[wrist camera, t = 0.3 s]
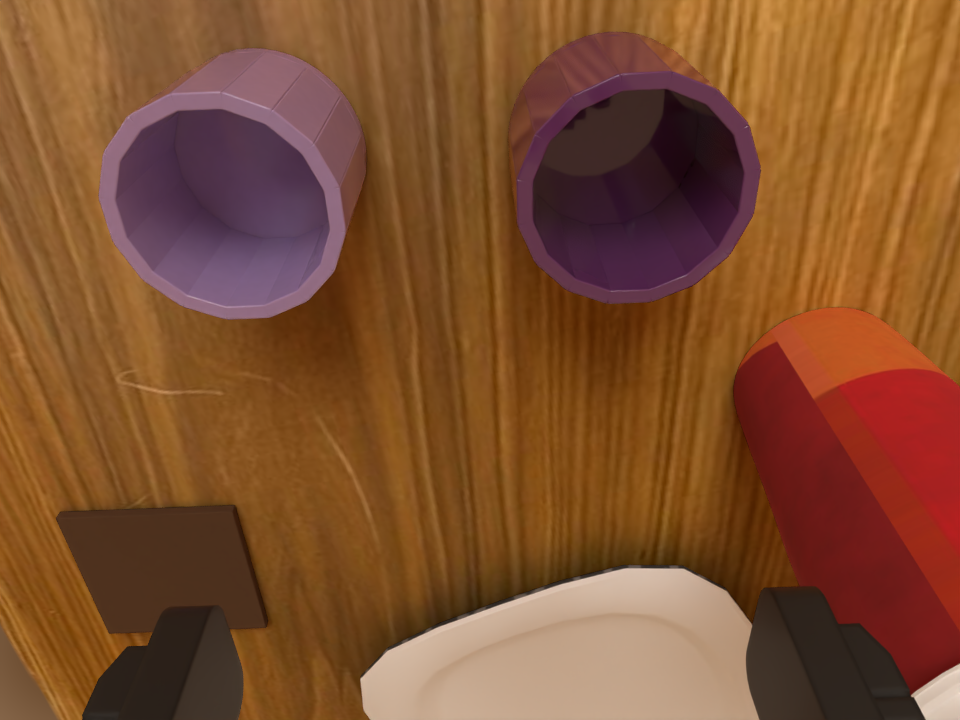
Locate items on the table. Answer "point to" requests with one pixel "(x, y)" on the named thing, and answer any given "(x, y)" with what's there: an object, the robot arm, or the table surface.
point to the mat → (164, 564)
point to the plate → (577, 655)
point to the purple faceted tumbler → (628, 169)
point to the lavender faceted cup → (236, 184)
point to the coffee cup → (865, 483)
